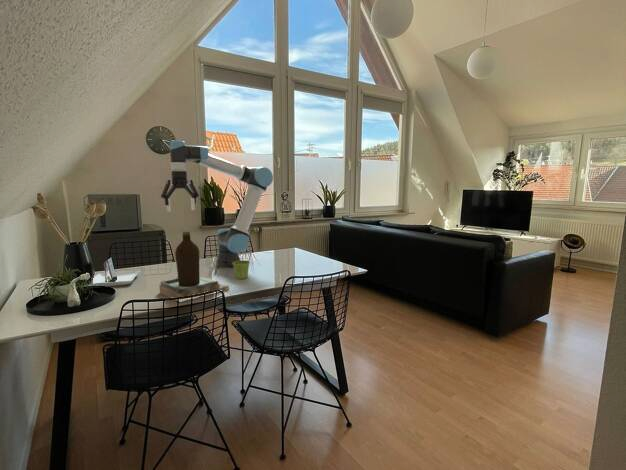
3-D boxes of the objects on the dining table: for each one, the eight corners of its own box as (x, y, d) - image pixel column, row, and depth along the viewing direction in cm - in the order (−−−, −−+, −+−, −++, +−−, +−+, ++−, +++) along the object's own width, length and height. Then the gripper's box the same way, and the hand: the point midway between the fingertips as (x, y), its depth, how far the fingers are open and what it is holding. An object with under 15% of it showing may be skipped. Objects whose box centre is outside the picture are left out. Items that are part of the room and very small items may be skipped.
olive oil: (200, 286, 159) (197, 233, 155) (176, 288, 156) (172, 234, 152) (201, 280, 169) (198, 230, 165) (178, 281, 166) (175, 230, 163)
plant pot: (246, 280, 183) (246, 264, 182) (230, 279, 185) (229, 263, 184) (253, 275, 192) (252, 260, 191) (237, 274, 194) (236, 260, 193)
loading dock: (207, 281, 181) (206, 271, 180) (228, 289, 168) (228, 278, 167) (159, 292, 163) (159, 281, 162) (179, 302, 150) (179, 290, 149)
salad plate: (85, 290, 168) (84, 283, 168) (99, 278, 189) (98, 272, 188) (132, 286, 174) (132, 280, 173) (141, 275, 194) (140, 269, 194)
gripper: (197, 171, 193) (199, 208, 197) (152, 170, 175) (155, 211, 179) (204, 171, 188) (205, 209, 192) (158, 170, 170) (161, 212, 174)
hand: (181, 210), depth 185 cm, fingers open, 13 cm apart
